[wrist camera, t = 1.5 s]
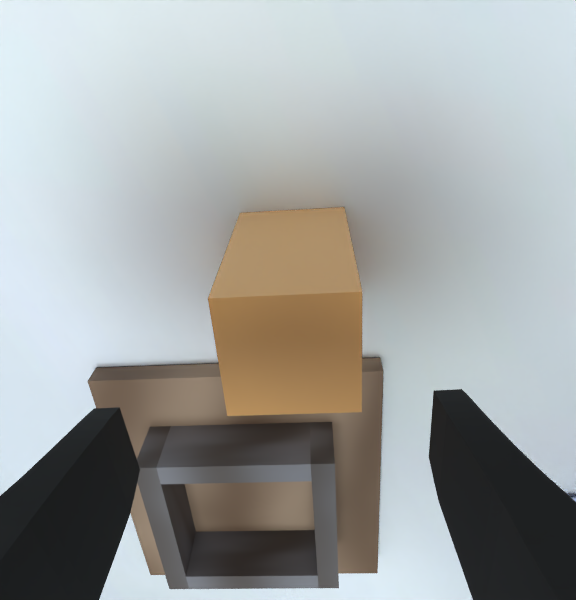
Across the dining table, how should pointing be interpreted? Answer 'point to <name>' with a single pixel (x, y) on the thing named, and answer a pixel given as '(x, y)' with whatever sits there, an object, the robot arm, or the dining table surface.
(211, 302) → the orange rectangular block
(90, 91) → the dining table surface
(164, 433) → the holder
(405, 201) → the dining table surface
